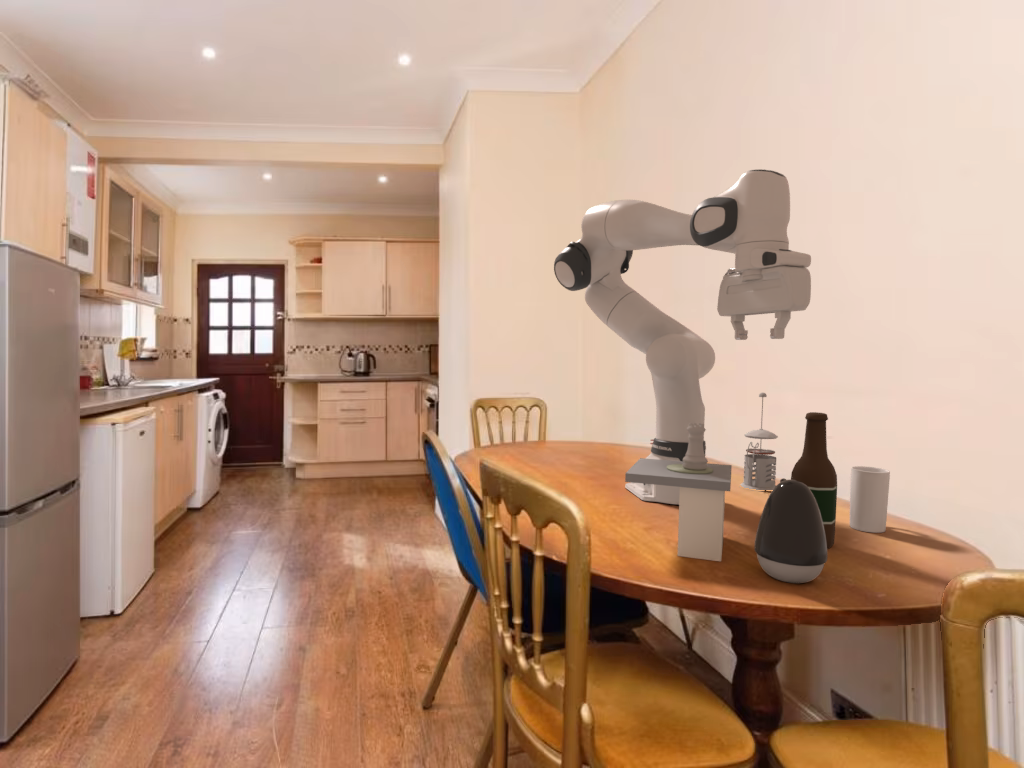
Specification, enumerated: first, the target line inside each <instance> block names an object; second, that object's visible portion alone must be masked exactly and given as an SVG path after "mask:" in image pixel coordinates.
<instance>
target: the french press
mask: <svg viewBox="0 0 1024 768" xmlns="http://www.w3.org/2000/svg"><path fill="white" fill-rule="evenodd" d="M758 397H759V398H761V399H762V400H761V416H763V412H764V411H763V409H764V398H767V393H766V392H760V393H759V394H758ZM760 421H761V422H760V423H761V424H760V428H759V429H752V430H750V431H748V432H746V433H745V434H744V437H745V438H750V439H755V440H756V439H757V440H775V439H777V438H779V436H778V435H777V434H775V432H774V433H773V432H771V431H769V430H766V429H763V417H761V419H760ZM759 445H760V446H759ZM750 446H751V448H750ZM759 447H760V448H759ZM745 451H746V454H744V456H743V457H744V459H743V460H744V462H743V464H744V466H743V482H741V483H740V484H739V485H741V486H742V487H744V488H749V489H756V490H773V489H774V488H775V487H776V486H777V484H776V475H777V472H776V470H777V467H776V466H777V457H776V456H772V455H774V454H775V453H776V451H775V450H772V449H764V448H762V441H759V442H756V444H755V446H754V445H753V442H752V441H750V443H749V444H748V447H747V449H745ZM754 477H755V478H754ZM744 488H743V489H744Z"/></svg>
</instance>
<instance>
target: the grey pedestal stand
mask: <svg viewBox="0 0 1024 768" xmlns="http://www.w3.org/2000/svg"><path fill="white" fill-rule="evenodd" d="M645 458H646V457H645ZM645 458H641V457H640V458H639V459H638V460H637V461H636V462H635V463H634V464H633V465H632V466H631V467H630V468H629V469H628V470H627V471H626V472H625V475H624V476H625V477H624V478H625V480H624V482H625V483H631V482H632V483H643V484H654V485H665V486H676V487H680V496H679V504H678V526H677V527H678V529H677V530H678V531H677V532H678V533H677V555H676V556H677V557H683V558H691V559H699V560H707V561H714V562H722V558H723V557H722V555H723V544H724V529H725V527H724V525H725V523H724V522H725V501H726V499H725V498H726V492H731V486H732V469H733V468H732V467H733V466H732V464H721V463H710V462H709V463H708V462H707V463H706V465H707V466H708V468H707V469H706V470H701V471H697V470H688V469H685V468H684V467H683V466H682V464H684V461H671V460H658V459H645Z"/></svg>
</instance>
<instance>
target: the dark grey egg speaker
mask: <svg viewBox="0 0 1024 768" xmlns="http://www.w3.org/2000/svg"><path fill="white" fill-rule="evenodd" d="M756 529H757V530H756V534H755V540H754V549H753V550H754V552H755V553H756V558H757V561H758V563H759V565H760V567H761V568H762V570H763V571H764V572H765V573H766V574H767V575H769V576H770V577H772V578H773V579H774V580H775V579H776V580H778V581H781V582H784V583H788V584H789V583H790V584H804V583H809V582H811V581H813V580H814V579H817V578H818V576H820V574H821V573H822V572H823V568H824V566H825V564H826V563H827V561H828V549H827V543H826V535H825V530H824V525H823V521H822V517H821V513H820V510H819V507H818V504H817V501H816V499H815V497H814V495H813V493H812V492H811V490H810V489H809V487H808V486H807V485H805V484H804V483H802V482H800V481H798V480H791V479H786V478H781V479H780V480H779V482H778V483H777V484H776V487H775V488H774V489H773V491H772V492H770V493H769V495H768V497H767V500H766V502H765V505H764V507H763V510H762V512H761V515H760V518H759V521H758V525H757V528H756Z"/></svg>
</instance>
